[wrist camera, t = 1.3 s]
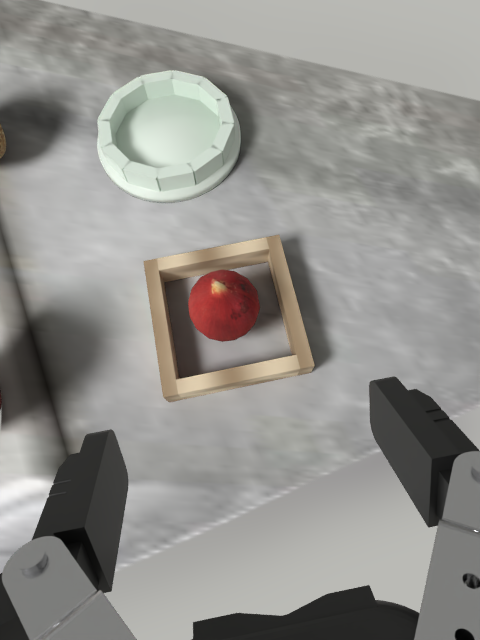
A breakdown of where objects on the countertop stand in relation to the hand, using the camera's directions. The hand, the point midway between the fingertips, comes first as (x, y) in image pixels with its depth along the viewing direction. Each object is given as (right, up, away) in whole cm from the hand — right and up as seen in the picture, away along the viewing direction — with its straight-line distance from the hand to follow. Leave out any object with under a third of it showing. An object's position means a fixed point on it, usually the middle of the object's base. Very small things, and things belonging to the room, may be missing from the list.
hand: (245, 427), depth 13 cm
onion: (-1, +3, +26) cm, 26 cm away
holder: (-1, +3, +26) cm, 26 cm away
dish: (-8, +22, +33) cm, 40 cm away
